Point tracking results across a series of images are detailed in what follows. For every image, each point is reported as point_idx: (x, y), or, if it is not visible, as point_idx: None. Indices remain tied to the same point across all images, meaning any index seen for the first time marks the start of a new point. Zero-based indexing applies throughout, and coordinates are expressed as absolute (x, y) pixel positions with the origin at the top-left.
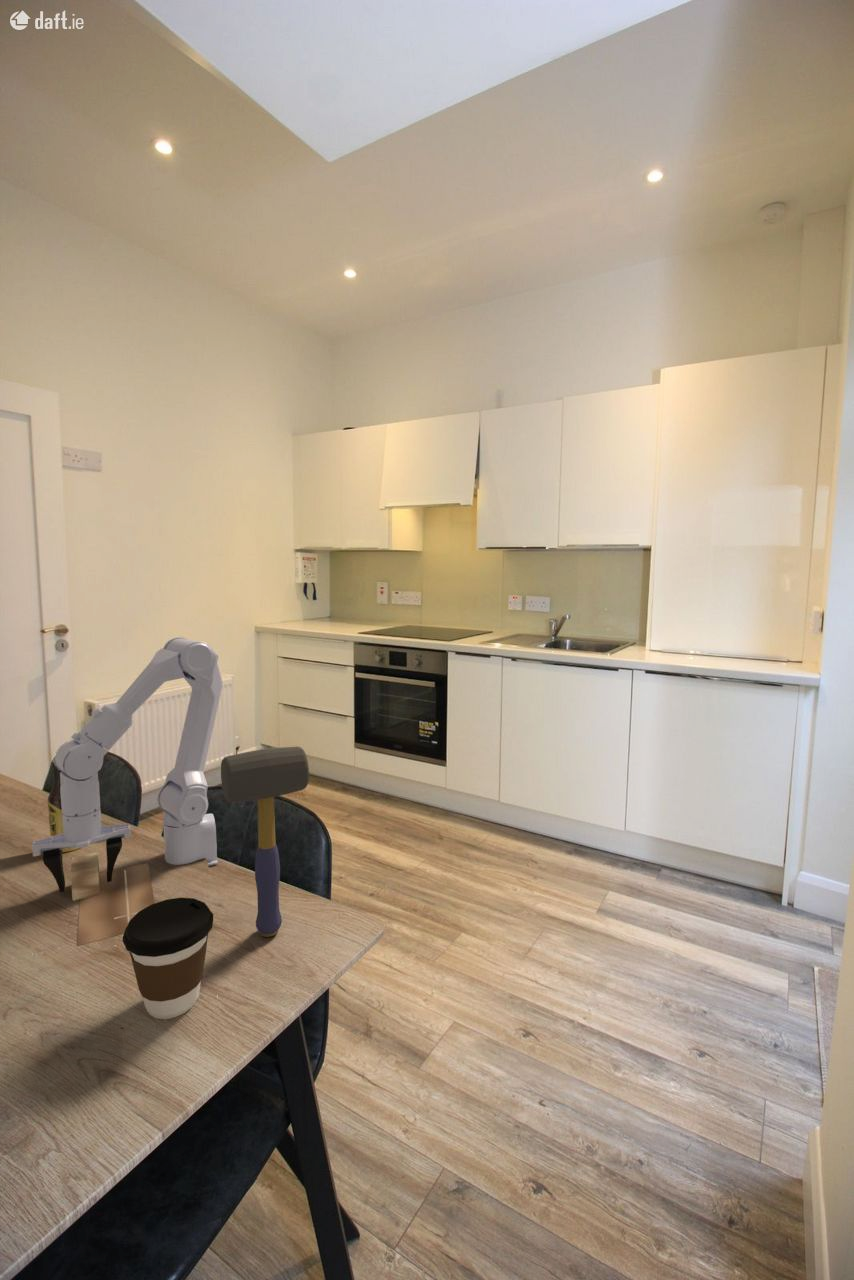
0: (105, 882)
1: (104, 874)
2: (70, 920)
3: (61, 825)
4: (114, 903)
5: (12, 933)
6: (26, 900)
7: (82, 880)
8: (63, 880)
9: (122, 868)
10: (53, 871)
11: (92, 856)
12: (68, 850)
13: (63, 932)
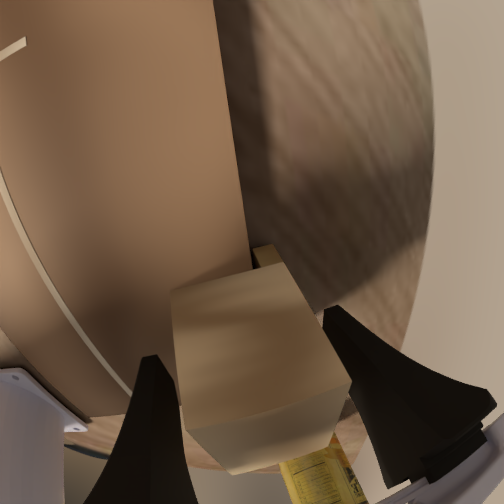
0: None
1: None
2: (267, 151)
3: (338, 483)
4: (60, 195)
5: (430, 141)
6: (389, 305)
7: (265, 347)
8: (345, 351)
9: None
10: (423, 373)
11: (249, 464)
12: None
13: (281, 58)
